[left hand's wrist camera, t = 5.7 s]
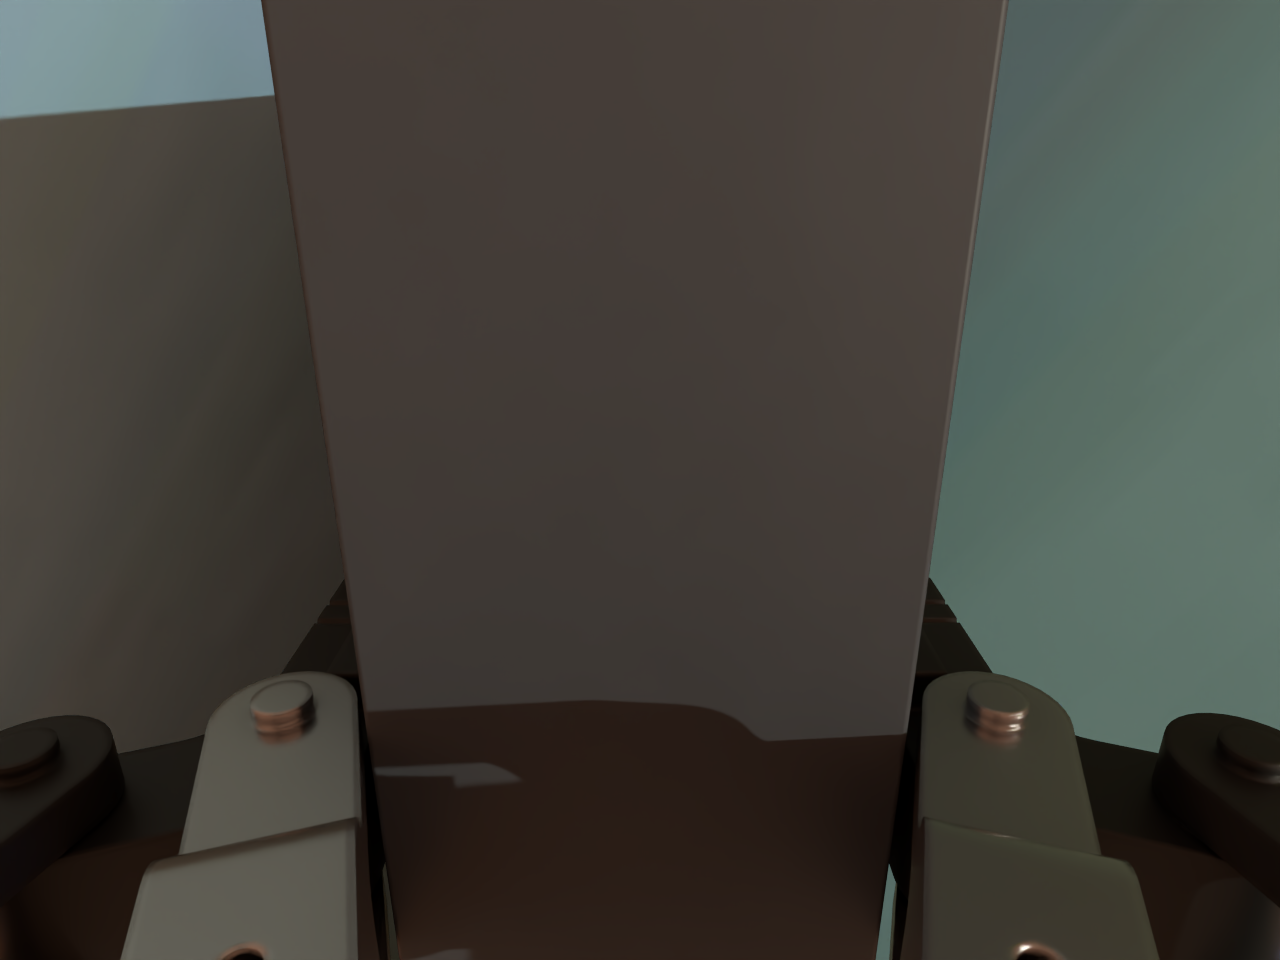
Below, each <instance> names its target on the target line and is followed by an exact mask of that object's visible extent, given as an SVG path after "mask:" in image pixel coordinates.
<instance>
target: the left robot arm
mask: <svg viewBox="0 0 1280 960" xmlns="http://www.w3.org/2000/svg"><path fill="white" fill-rule="evenodd" d="M384 864H385V855H384V848H383V841H382V834H381V827H380V820H379V813H378V806H377V799H376V793H375V786H374V779H373V772H372V765H371V758H370V751H369V744H368V737H367V730H366V723H365V716H364V709H363V702H362V696H361V689H360V682H359V675H358V668H357V661H356V654H355V647H354V640H353V633H352V626H351V619H350V612H349V605H348V599H347V592H346V585H345V579H344V580H343V582H342V583H341V585H340V586H339V588H338V589H337V591H336V592H335V594H334V595H333V597H332V598H331V600H330V605H327V606H326V607H325V609H324V610H323V612H322V613H321V615H320V616H319V618H318V623H317V624H314V625H313V627H312V628H311V630H310V631H309V633H308V634H307V636H306V637H305V639H304V640H303V642H302V643H301V645H300V646H299V648H298V649H297V651H296V652H295V654H294V655H293V657H292V658H291V660H290V661H289V663H288V664H287V666H286V667H285V669H284V670H283V672H282V673H281V675H276V676H273V677H269V678H266V679H263V680H260V681H258V682H255V683H253V684H250V685H248V686H246V687H244V688H242V689H240V690H239V691H237V692H236V693H234V694H233V695H231V696H230V697H228V698H227V699H226V700H225V701H223V702H222V703H221V704H220V705H219V706H218V707H217V709H216V710H215V711H214V712H213V714H212V715H211V717H210V719H209V722H208V724H207V728H206V733H205V734H204V735H201V736H198V737H195V738H192V739H188V740H183V741H179V742H175V743H170V744H165V745H160V746H155V747H150V748H145V749H140V750H135V751H130V752H125V753H120V754H117V750H116V746H115V743H114V739H113V736H112V733H111V730H110V728H109V727H108V726H107V725H106V724H105V723H103V722H101V721H100V720H98V719H94V718H91V717H86V716H79V715H65V716H54V717H48V718H42V719H37V720H33V721H30V722H26V723H22V724H19V725H16V726H13V727H10V728H8V729H5V730H3V731H0V960H391V956H390V940H389V925H388V910H387V899H386V892H385V885H384V879H383V872H382V870H383V867H384ZM889 864H890V867H891V870H892V873H893V876H894V879H895V881H896V885H895V892H894V899H893V909H892V925H891V940H890V955H889V960H1280V731H1279V730H1277V729H1275V728H1272V727H1270V726H1267V725H1264V724H1261V723H1258V722H1255V721H1252V720H1248V719H1244V718H1241V717H1236V716H1231V715H1225V714H1215V713H1195V714H1188V715H1184V716H1181V717H1178V718H1176V719H1175V720H1173V721H1171V722H1170V723H1169V724H1168V726H1167V727H1166V730H1165V732H1164V735H1163V739H1162V743H1161V746H1160V750H1159V753H1154V752H1149V751H1144V750H1139V749H1134V748H1129V747H1124V746H1120V745H1115V744H1110V743H1105V742H1100V741H1095V740H1091V739H1087V738H1082V737H1079V736H1076V735H1075V733H1074V728H1073V724H1072V722H1071V719H1070V717H1069V715H1068V714H1067V712H1066V711H1065V710H1064V709H1063V707H1062V706H1061V705H1060V704H1059V703H1058V702H1057V701H1055V700H1054V699H1053V698H1052V697H1050V696H1049V695H1047V694H1046V693H1044V692H1043V691H1041V690H1040V689H1038V688H1036V687H1034V686H1032V685H1030V684H1027V683H1025V682H1022V681H1020V680H1017V679H1014V678H1011V677H1007V676H1004V675H999V674H995V673H992V671H991V670H990V668H989V667H988V665H987V664H986V662H985V661H984V659H983V657H982V656H981V654H980V653H979V651H978V650H977V648H976V647H975V645H974V644H973V642H972V641H971V639H970V638H969V636H968V635H967V633H966V632H965V630H964V629H963V627H962V626H961V624H960V623H957V618H956V616H955V615H954V613H953V612H952V610H951V609H950V607H949V606H948V605H945V600H944V598H943V597H942V595H941V594H940V592H939V591H938V589H937V588H936V586H935V585H934V583H933V581H932V580H931V579H930V578H928V585H927V592H926V599H925V607H924V614H923V621H922V628H921V635H920V643H919V650H918V657H917V664H916V671H915V679H914V686H913V693H912V700H911V707H910V715H909V722H908V729H907V736H906V743H905V751H904V758H903V765H902V772H901V779H900V786H899V794H898V801H897V808H896V815H895V822H894V830H893V837H892V844H891V851H890V858H889Z"/></svg>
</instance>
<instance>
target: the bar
mask: <svg viewBox="0 0 1280 960" xmlns="http://www.w3.org/2000/svg"><path fill="white" fill-rule="evenodd" d="M261 3H262V10H263V17H264V23H265V30H266V37H267V44H268V51H269V58H270V65H271V72H272V79H273V86H274V93H275V100H276V107H277V113H278V120H279V127H280V134H281V141H282V148H283V155H284V162H285V169H286V176H287V183H288V190H289V197H290V204H291V211H292V217H293V224H294V231H295V238H296V245H297V252H298V259H299V266H300V273H301V280H302V287H303V294H304V301H305V308H306V314H307V321H308V328H309V335H310V342H311V349H312V356H313V363H314V370H315V377H316V384H317V391H318V398H319V405H320V411H321V418H322V425H323V432H324V439H325V446H326V453H327V460H328V467H329V474H330V481H331V488H332V495H333V502H334V508H335V515H336V522H337V529H338V536H339V543H340V550H341V557H342V564H343V571H344V578H345V585H346V592H347V599H348V605H349V612H350V619H351V626H352V633H353V640H354V647H355V654H356V661H357V668H358V675H359V682H360V689H361V696H362V702H363V709H364V716H365V723H366V730H367V737H368V744H369V751H370V758H371V765H372V772H373V779H374V786H375V793H376V799H377V806H378V813H379V820H380V827H381V834H382V841H383V848H384V855H385V862H386V869H387V876H388V883H389V890H390V896H391V903H392V910H393V917H394V924H395V931H396V938H397V945H398V952H399V959H400V960H875V959H876V952H877V945H878V938H879V930H880V923H881V916H882V909H883V902H884V894H885V887H886V880H887V873H888V866H889V858H890V851H891V844H892V837H893V830H894V822H895V815H896V808H897V801H898V794H899V786H900V779H901V772H902V765H903V758H904V751H905V743H906V736H907V729H908V722H909V715H910V707H911V700H912V693H913V686H914V679H915V671H916V664H917V657H918V650H919V643H920V635H921V628H922V621H923V614H924V607H925V599H926V592H927V585H928V578H929V571H930V564H931V556H932V549H933V542H934V535H935V528H936V520H937V513H938V506H939V499H940V492H941V484H942V477H943V470H944V463H945V456H946V448H947V441H948V434H949V427H950V420H951V413H952V405H953V398H954V391H955V384H956V377H957V369H958V362H959V355H960V348H961V341H962V333H963V326H964V319H965V312H966V305H967V297H968V290H969V283H970V276H971V269H972V261H973V254H974V247H975V240H976V233H977V226H978V218H979V211H980V204H981V197H982V190H983V182H984V175H985V168H986V161H987V154H988V146H989V139H990V132H991V125H992V118H993V110H994V103H995V96H996V89H997V82H998V74H999V67H1000V60H1001V53H1002V46H1003V39H1004V31H1005V24H1006V17H1007V10H1008V3H1009V0H261Z"/></svg>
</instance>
